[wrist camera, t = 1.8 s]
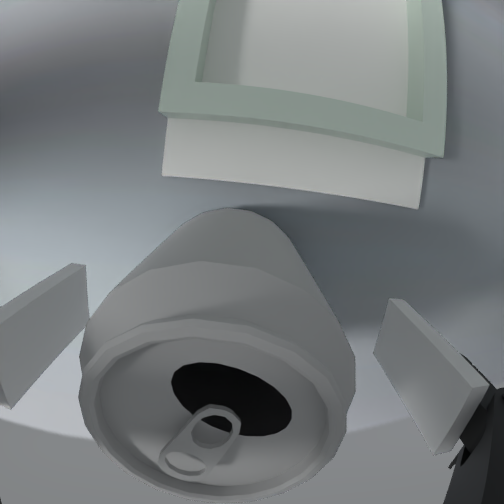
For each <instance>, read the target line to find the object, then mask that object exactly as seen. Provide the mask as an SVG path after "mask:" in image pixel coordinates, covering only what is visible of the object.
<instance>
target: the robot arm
mask: <svg viewBox="0 0 504 504" xmlns="http://www.w3.org/2000/svg"><path fill="white" fill-rule="evenodd" d="M89 319H90V318H89V308H88V295H87V280H86V265H81V264H75V263H71V264H69V265H67V266H66V267H64V268H62V269H61V270H59V271H57V272H56V273H54V274H52V275H51V276H49V277H47V278H46V279H44V280H43V281H41V282H39V283H38V284H36V285H34V286H33V287H31V288H30V289H28V290H27V291H25V292H23V293H22V294H20V295H19V296H17V297H16V298H14V299H13V300H11V301H9V302H8V303H6V304H5V305H3V306H2V307H0V405H2V406H4V407H6V408H8V409H10V410H11V409H12V408H13V407H14V406H15V405H16V403H17V402H18V401H19V400H20V399H21V397H22V396H23V395H24V394H25V393H26V392H27V390H28V389H29V388H30V387H31V386H32V385H33V383H34V382H35V381H36V380H37V379H38V378H39V377H40V376H41V374H42V373H43V372H44V371H45V370H46V369H47V368H48V367H49V365H50V364H51V363H52V362H53V361H54V360H55V359H56V358H57V357H58V356H59V354H60V353H61V352H62V351H63V350H64V349H65V348H66V347H67V346H68V345H69V344H70V343H71V341H72V340H73V339H74V338H75V337H76V336H77V335H78V334H79V333H80V332H81V331H82V330H83V329H84V328H85V327H86V324H87V322H88V321H89ZM373 354H374V355H375V357H376V358H377V360H378V362H379V363H380V365H381V367H382V368H383V370H384V371H385V373H386V375H387V376H388V378H389V380H390V381H391V383H392V385H393V386H394V388H395V390H396V391H397V393H398V395H399V397H400V398H401V400H402V402H403V403H404V405H405V407H406V408H407V410H408V412H409V414H410V415H411V417H412V419H413V421H414V422H415V424H416V426H417V428H418V429H419V431H420V433H421V435H422V436H423V438H424V440H425V442H426V444H427V445H428V447H429V449H430V451H431V452H432V454H433V455H437V454H442V453H446V452H449V451H451V450H452V449H453V447H454V446H455V444H456V443H457V441H458V439H459V438H460V439H461V441H462V442H463V444H464V446H463V447H462V449H461V450H460V451H459V453H458V454H457V456H456V457H455V459H454V460H453V461H452V462H451V464H450V465H449V467H448V468H450V469H451V468H452V466H453V465H454V464H456V465H455V469H454V472H453V476H452V479H451V482H450V485H449V488H448V491H447V494H446V497H445V500H444V503H443V504H504V388H499V389H496V388H495V387H494V386H493V385H492V384H491V383H490V382H489V381H488V379H487V378H486V377H485V376H484V375H483V374H482V373H481V372H480V371H478V369H477V368H476V367H475V366H474V365H472V363H471V362H470V361H469V360H468V359H467V358H466V357H465V356H463V355H462V354H460V353H459V352H458V351H457V350H456V349H455V348H454V347H453V346H452V345H451V344H450V343H449V342H448V341H447V340H446V339H445V338H444V337H442V336H441V335H440V334H439V333H438V332H437V331H436V330H435V329H434V328H433V327H432V326H431V325H430V324H429V323H428V322H427V321H426V320H425V319H424V318H423V317H422V316H421V315H420V314H419V313H418V312H416V311H415V310H414V309H413V308H412V307H411V306H410V305H409V304H408V303H407V302H406V301H405V300H404V299H391V298H389V300H388V303H387V307H386V311H385V314H384V318H383V322H382V325H381V329H380V332H379V335H378V339H377V342H376V345H375V348H374V351H373ZM0 504H2V503H1V499H0Z"/></svg>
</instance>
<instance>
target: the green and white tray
mask: <svg viewBox="0 0 504 504" xmlns="http://www.w3.org/2000/svg"><path fill="white" fill-rule="evenodd" d="M158 112H159V113H161V114H162V115H164V116H165V117H167V118H168V121H167V129H166V138H165V147H164V156H163V166H162V176H172V177H185V178H197V179H209V180H219V181H230V182H239V183H248V184H257V185H266V186H274V187H282V188H290V189H297V190H305V191H312V192H319V193H326V194H332V195H339V196H345V197H351V198H358V199H363V200H369V201H375V202H381V203H386V204H392V205H397V206H403V207H408V208H413V209H418V208H419V202H420V196H421V189H422V181H423V173H424V165H425V158H443V157H444V146H445V132H446V113H447V58H446V39H445V27H444V16H443V8H442V0H179V3H178V7H177V11H176V16H175V20H174V25H173V29H172V34H171V39H170V44H169V49H168V54H167V59H166V65H165V71H164V77H163V83H162V89H161V95H160V102H159V109H158Z"/></svg>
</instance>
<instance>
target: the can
mask: <svg viewBox="0 0 504 504" xmlns="http://www.w3.org/2000/svg"><path fill="white" fill-rule="evenodd" d="M79 358H80V364H81V370H82V380H81V385H80V390H79V396H78V398H79V403H80V407H81V411H82V415H83V419H84V423H85V426H86V427H87V429H88V431H89V432H90V434H91V435H92V437H93V438H94V440H95V441H96V443H97V444H98V446H99V447H100V449H101V450H102V452H103V453H104V454H105V455H106V456H107V457H109V458H110V459H111V460H112V461H113V462H114V463H115V464H116V465H117V466H119V467H120V468H121V469H122V470H123V471H124V472H126V473H127V474H128V475H130V476H132V477H134V478H135V479H137V480H139V481H141V482H143V483H144V484H146V485H148V486H150V487H152V488H154V489H156V490H159V491H162V492H165V493H168V494H171V495H174V496H177V497H181V498H184V499H188V500H194V501H202V502H210V503H237V502H238V503H239V502H252V501H257V500H260V499H264V498H268V497H272V496H275V495H279V494H282V493H285V492H287V491H289V490H291V489H293V488H295V487H296V486H299V485H300V484H302V483H304V482H306V481H308V480H309V479H311V478H312V477H314V476H315V475H316V474H317V473H318V472H319V471H320V470H321V469H322V468H323V467H324V466H325V465H326V464H327V463H328V462H329V461H330V460H331V459H332V458H333V457H334V456H335V454H336V452H337V450H338V447H339V446H340V444H341V442H342V439H343V437H344V435H345V433H346V414H347V411H348V409H349V407H350V404H351V402H352V399H353V397H354V394H355V356H354V354H353V352H352V349H351V347H350V345H349V343H348V340H347V338H346V336H345V334H344V332H343V330H342V327H341V325H340V323H339V321H338V319H337V318H336V316H335V314H334V313H333V311H332V309H331V307H330V306H329V304H328V302H327V301H326V299H325V297H324V295H323V294H322V292H321V290H320V289H319V287H318V285H317V284H316V282H315V280H314V279H313V277H312V275H311V274H310V272H309V270H308V268H307V267H306V265H305V264H304V262H303V260H302V259H301V257H300V255H299V254H298V252H297V250H296V249H295V247H294V245H293V244H292V242H291V240H290V239H289V237H288V236H287V235H286V234H285V233H284V232H283V231H282V230H281V229H280V228H279V227H278V226H277V225H276V224H274V223H273V222H272V221H271V220H269V219H267V218H265V217H263V216H261V215H259V214H256V213H254V212H252V211H249V210H242V209H234V208H222V209H217V210H212V211H206V212H203V213H201V214H199V215H198V216H196V217H194V218H192V219H190V220H189V221H187V222H185V223H184V224H182V225H181V226H180V227H179V228H178V229H177V230H176V231H175V232H174V233H172V234H171V235H170V236H169V237H168V238H167V239H166V240H165V241H164V242H163V243H161V244H160V245H159V246H158V247H157V248H156V249H155V250H154V251H153V252H152V253H151V254H150V255H148V256H147V257H146V258H145V259H144V260H143V261H142V262H141V263H140V264H139V265H138V266H137V267H136V268H135V269H134V270H133V271H131V272H130V273H129V274H128V275H127V276H126V277H125V278H124V279H123V280H122V281H121V282H120V283H119V284H118V285H117V286H116V287H115V288H114V289H113V290H112V291H111V292H110V293H109V294H108V295H107V297H106V298H105V299H104V301H103V302H102V303H101V305H100V306H99V307H98V309H97V310H96V311H95V313H94V314H93V315H92V317H91V318H90V319H89V321H88V322H87V324H86V328H85V333H84V337H83V342H82V346H81V351H80V356H79Z"/></svg>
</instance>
